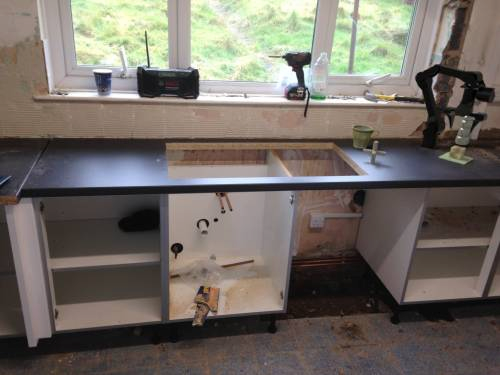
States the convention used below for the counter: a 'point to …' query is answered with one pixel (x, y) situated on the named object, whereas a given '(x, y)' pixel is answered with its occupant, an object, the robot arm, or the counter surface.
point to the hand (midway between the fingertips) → (460, 131)
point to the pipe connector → (374, 152)
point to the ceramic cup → (362, 136)
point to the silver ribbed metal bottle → (464, 130)
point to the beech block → (457, 152)
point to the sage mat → (462, 161)
